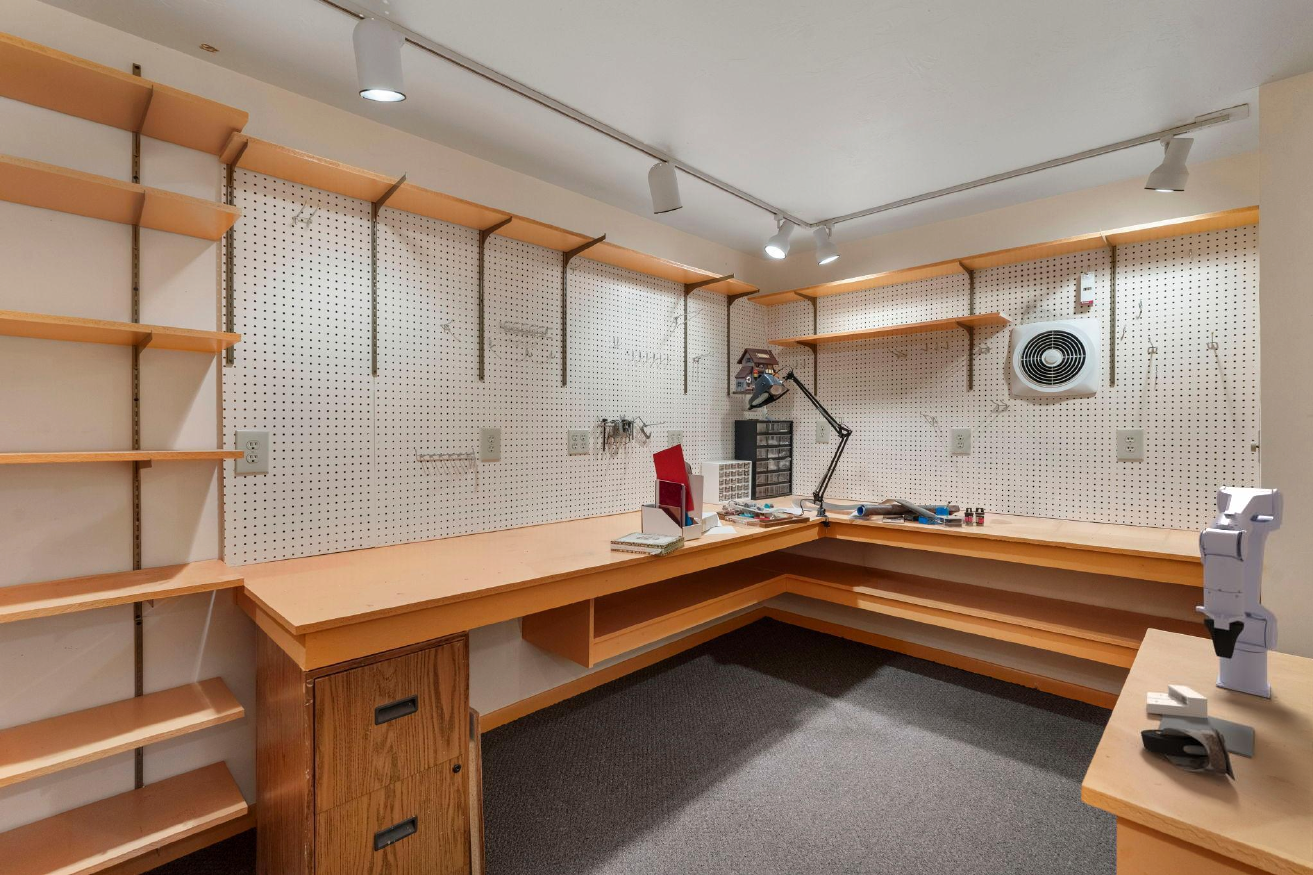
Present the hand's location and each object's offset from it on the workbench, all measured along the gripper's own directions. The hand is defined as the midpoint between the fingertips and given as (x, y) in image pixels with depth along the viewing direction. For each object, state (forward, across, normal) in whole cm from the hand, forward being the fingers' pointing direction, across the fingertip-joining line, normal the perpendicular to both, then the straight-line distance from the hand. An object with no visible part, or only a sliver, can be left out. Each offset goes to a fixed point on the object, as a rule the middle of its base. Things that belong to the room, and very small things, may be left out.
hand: (1224, 656), depth 113 cm
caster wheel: (+10, +32, -4) cm, 34 cm away
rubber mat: (+10, +15, -2) cm, 18 cm away
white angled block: (+8, +7, -3) cm, 11 cm away
